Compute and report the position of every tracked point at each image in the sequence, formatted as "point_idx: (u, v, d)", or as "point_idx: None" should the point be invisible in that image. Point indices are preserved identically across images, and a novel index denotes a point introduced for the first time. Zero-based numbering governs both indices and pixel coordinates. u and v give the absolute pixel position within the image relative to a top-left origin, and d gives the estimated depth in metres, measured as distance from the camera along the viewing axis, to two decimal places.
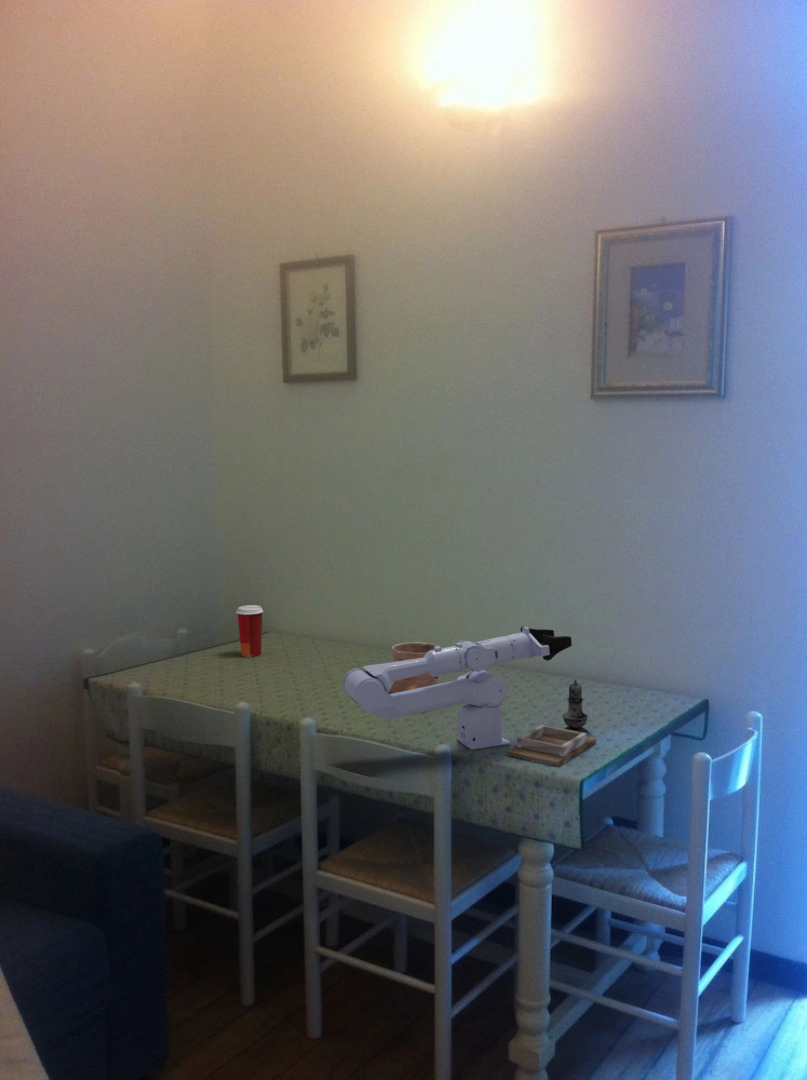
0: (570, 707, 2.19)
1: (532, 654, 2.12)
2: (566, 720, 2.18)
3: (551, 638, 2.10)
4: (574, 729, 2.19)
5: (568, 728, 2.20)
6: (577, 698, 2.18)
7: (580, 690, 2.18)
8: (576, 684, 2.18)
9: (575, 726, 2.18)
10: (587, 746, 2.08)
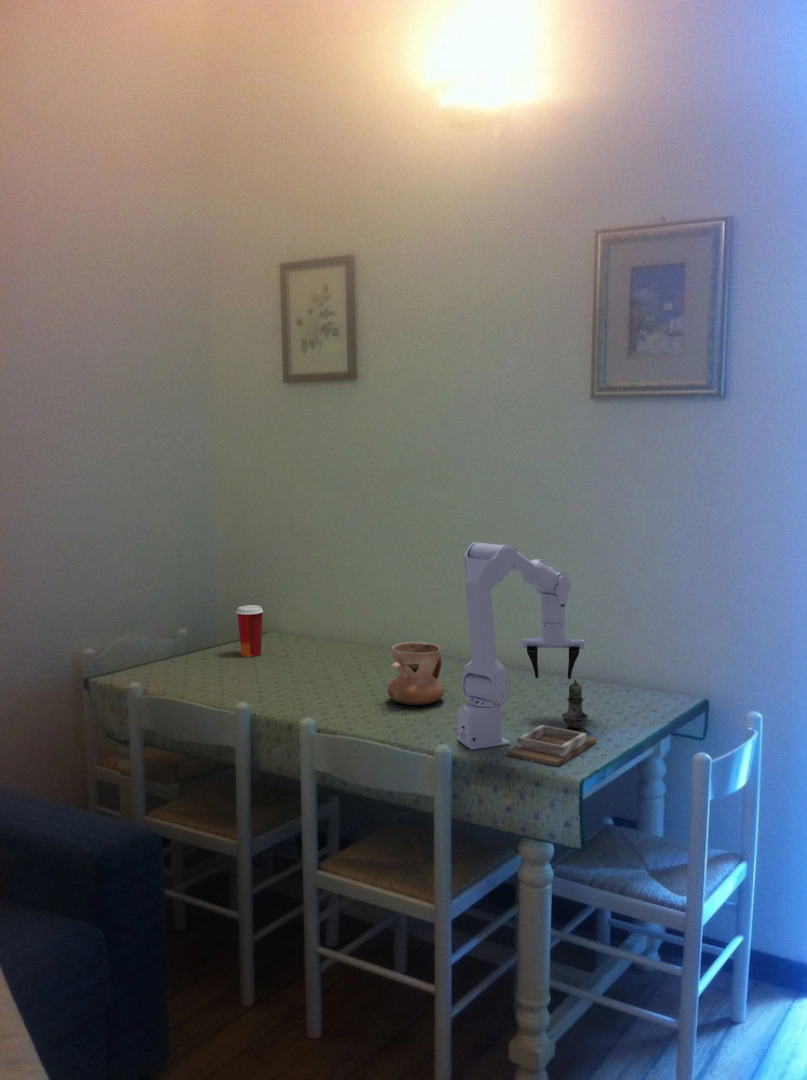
0: (570, 707, 2.19)
1: (563, 642, 2.27)
2: (566, 720, 2.18)
3: None
4: (574, 729, 2.19)
5: (568, 728, 2.20)
6: (577, 698, 2.18)
7: (580, 690, 2.18)
8: (576, 684, 2.18)
9: (575, 726, 2.18)
10: (587, 746, 2.08)
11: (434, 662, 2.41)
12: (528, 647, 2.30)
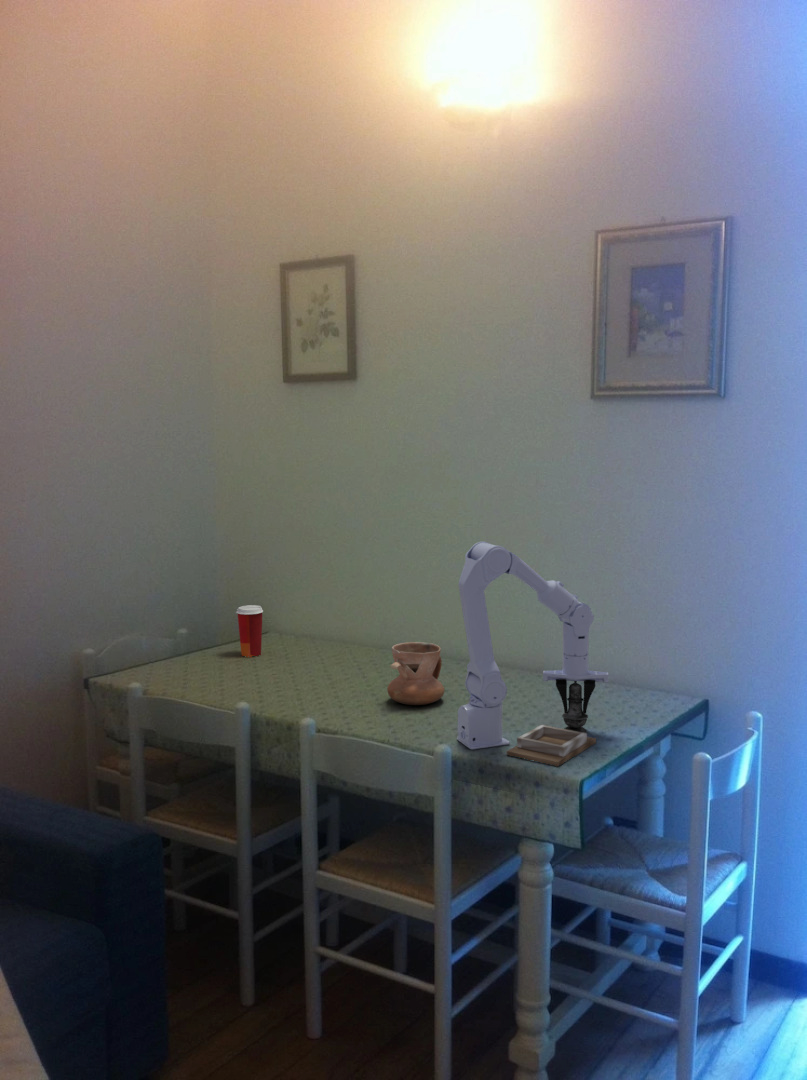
0: (570, 707, 2.19)
1: (587, 675, 2.16)
2: (566, 720, 2.18)
3: None
4: (574, 729, 2.19)
5: (568, 728, 2.20)
6: (577, 698, 2.18)
7: (580, 690, 2.18)
8: (576, 684, 2.18)
9: (575, 726, 2.18)
10: (587, 746, 2.08)
11: (434, 662, 2.41)
12: (557, 680, 2.18)
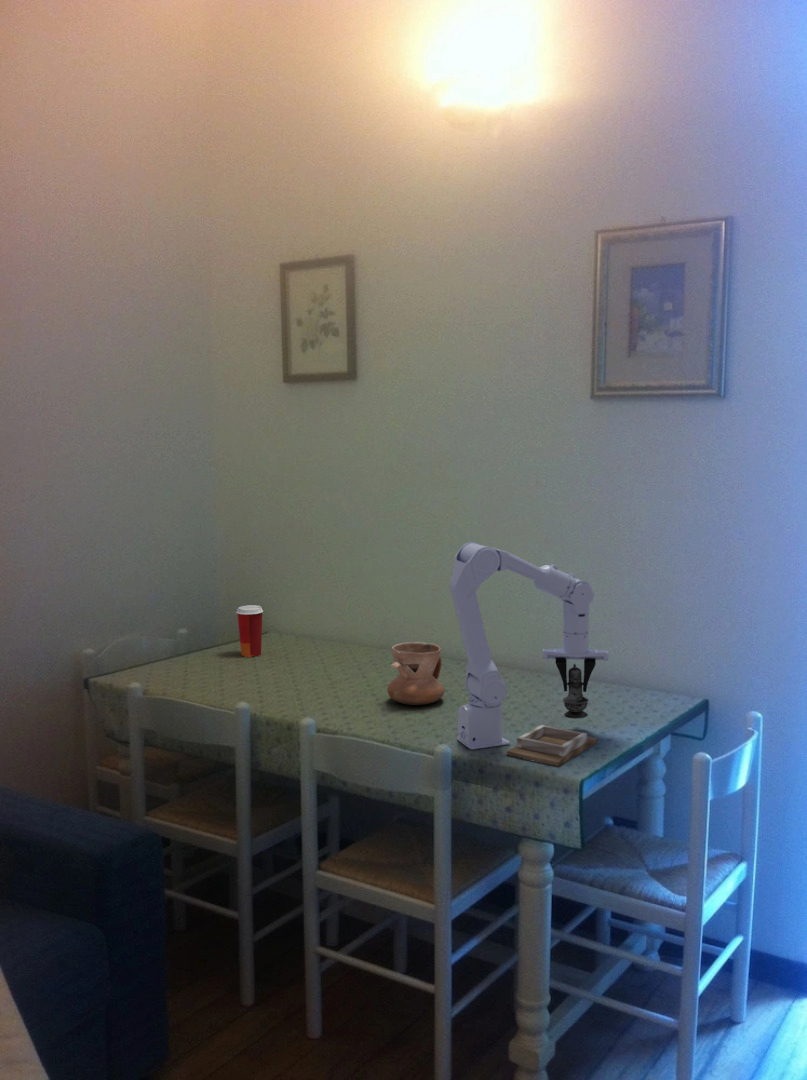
0: (570, 691, 2.18)
1: None
2: (566, 704, 2.18)
3: None
4: (575, 713, 2.18)
5: (569, 712, 2.20)
6: (577, 682, 2.17)
7: (580, 674, 2.17)
8: (575, 668, 2.18)
9: (575, 710, 2.17)
10: (587, 746, 2.08)
11: (434, 662, 2.41)
12: (557, 659, 2.18)
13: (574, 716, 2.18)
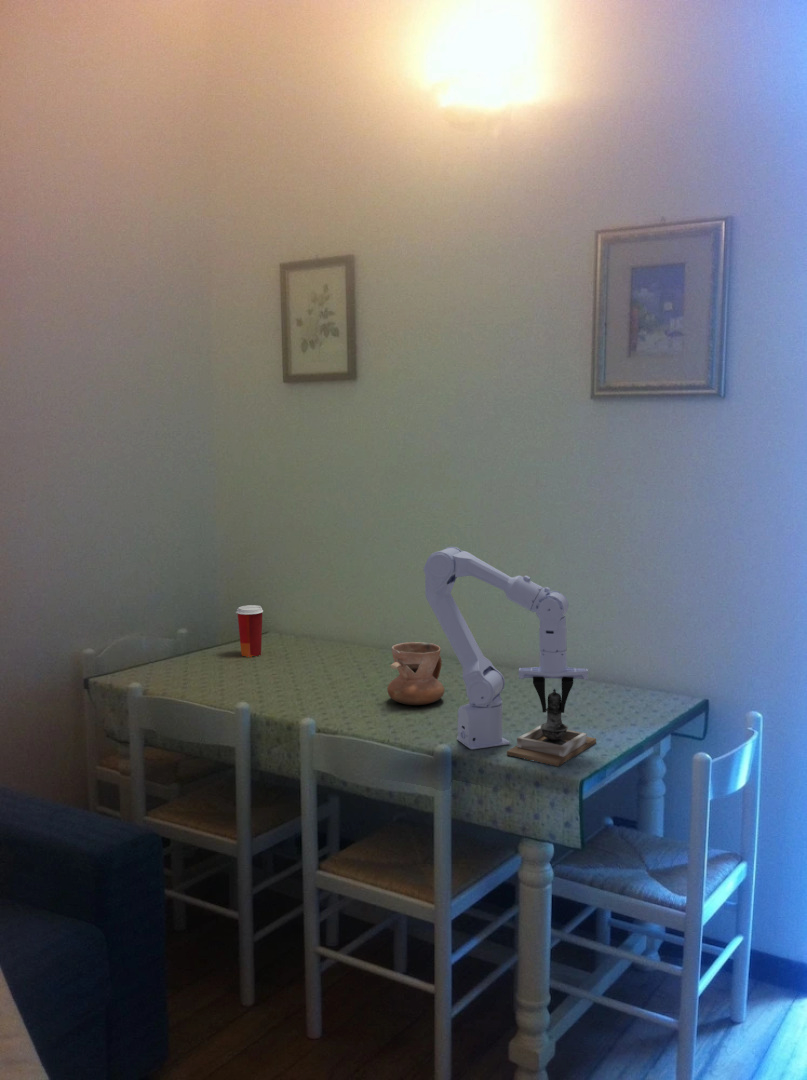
0: (548, 718, 2.08)
1: (565, 672, 2.04)
2: (544, 731, 2.07)
3: None
4: (552, 741, 2.08)
5: (547, 740, 2.09)
6: (556, 708, 2.07)
7: (559, 700, 2.07)
8: (555, 694, 2.07)
9: (553, 738, 2.07)
10: (587, 746, 2.08)
11: (434, 662, 2.41)
12: (534, 678, 2.06)
13: None
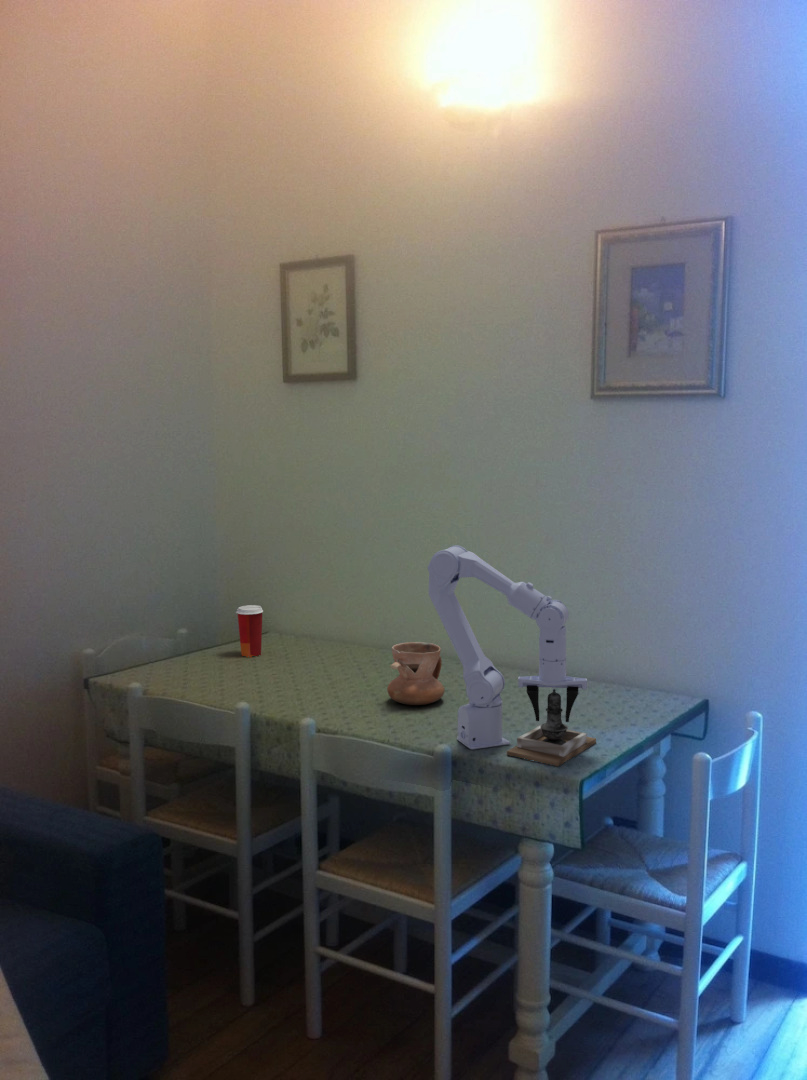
0: (548, 718, 2.08)
1: None
2: (544, 731, 2.07)
3: None
4: (552, 741, 2.08)
5: (547, 740, 2.09)
6: (556, 708, 2.07)
7: (559, 700, 2.07)
8: (555, 694, 2.07)
9: (553, 738, 2.07)
10: (587, 746, 2.08)
11: (434, 662, 2.41)
12: (528, 687, 2.06)
13: None
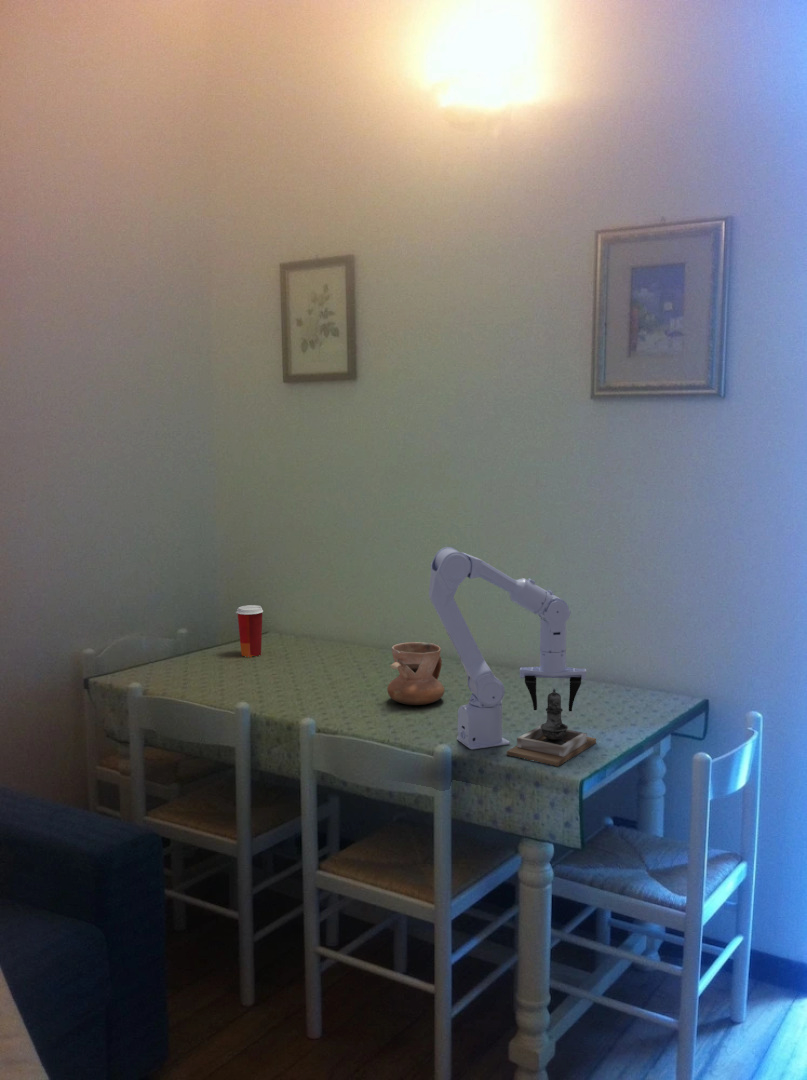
0: (548, 718, 2.08)
1: (564, 672, 2.12)
2: (544, 731, 2.07)
3: None
4: (552, 741, 2.08)
5: (547, 740, 2.09)
6: (556, 708, 2.07)
7: (559, 700, 2.07)
8: (555, 694, 2.07)
9: (553, 738, 2.07)
10: (587, 746, 2.08)
11: (434, 662, 2.41)
12: (526, 677, 2.14)
13: None
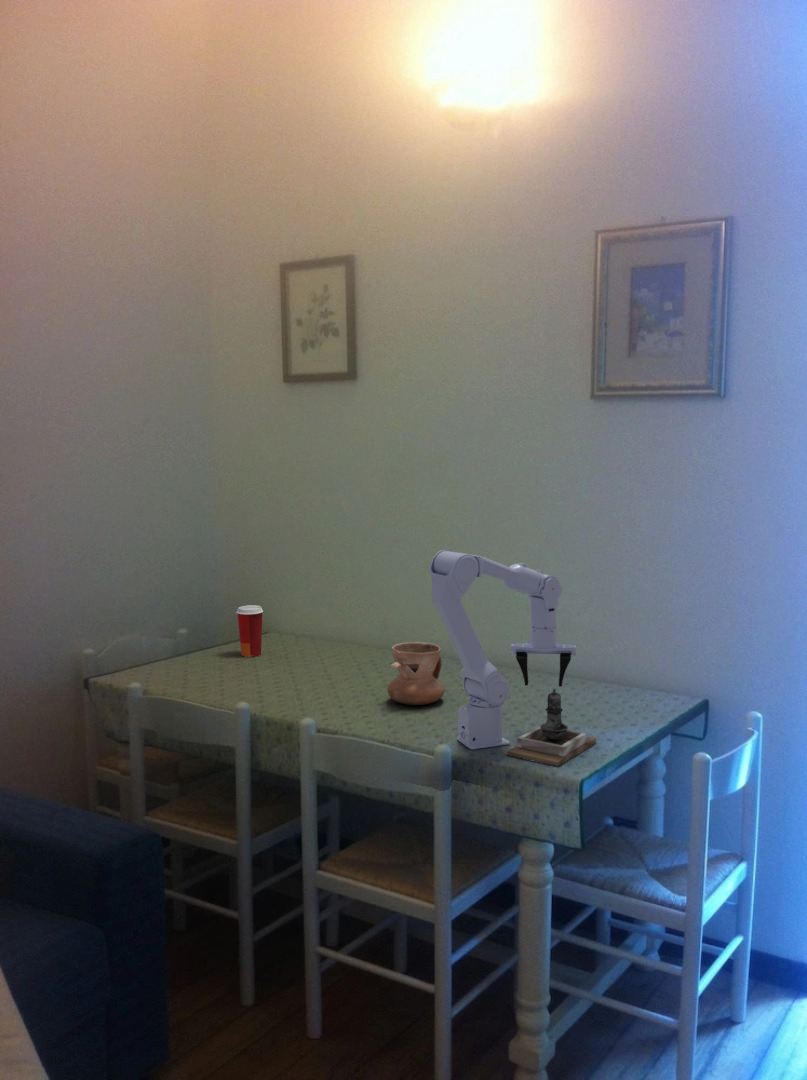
0: (548, 718, 2.08)
1: (554, 648, 2.17)
2: (544, 731, 2.07)
3: None
4: (552, 741, 2.08)
5: (547, 740, 2.09)
6: (556, 708, 2.07)
7: (559, 700, 2.07)
8: (555, 694, 2.07)
9: (553, 738, 2.07)
10: (587, 746, 2.08)
11: (434, 662, 2.41)
12: (517, 653, 2.20)
13: None
